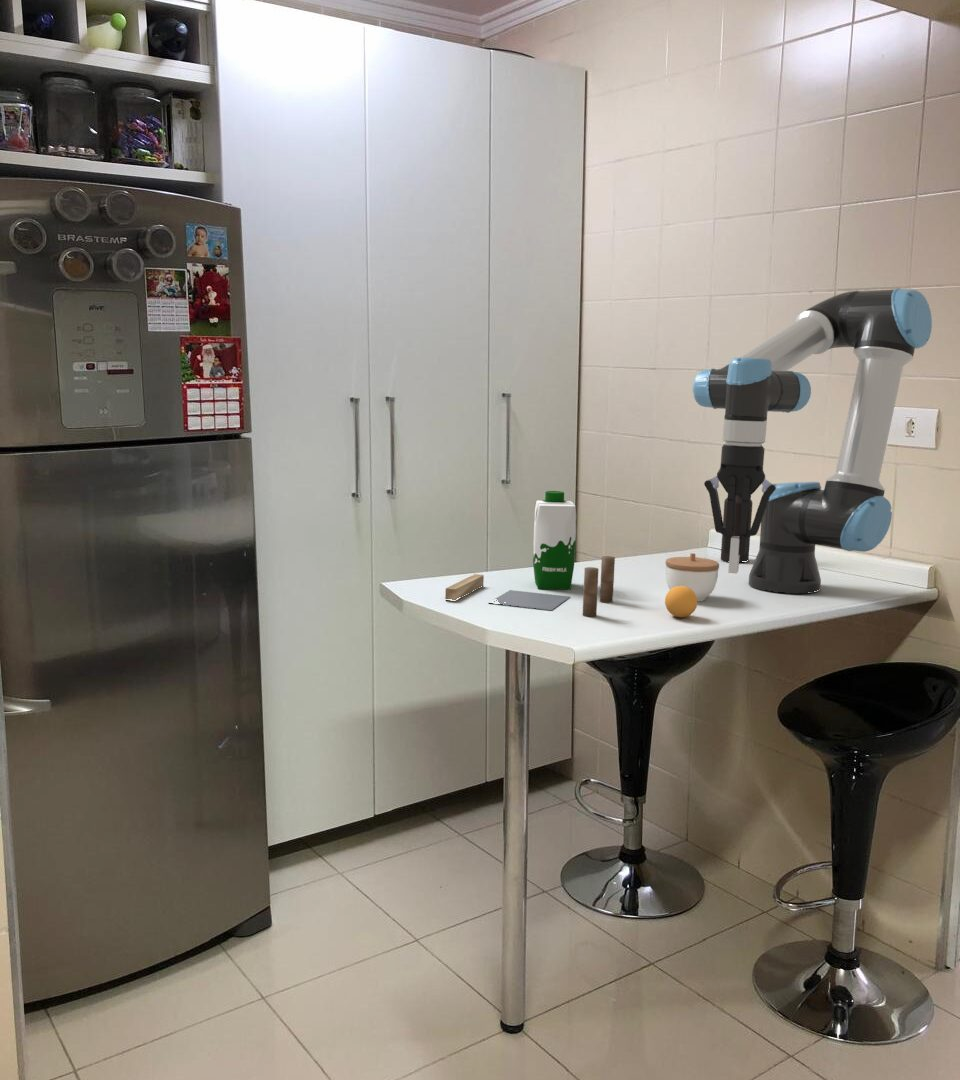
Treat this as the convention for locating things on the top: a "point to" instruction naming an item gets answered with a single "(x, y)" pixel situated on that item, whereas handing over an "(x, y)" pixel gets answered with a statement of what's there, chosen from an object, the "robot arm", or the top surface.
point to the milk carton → (554, 541)
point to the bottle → (736, 528)
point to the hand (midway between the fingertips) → (733, 571)
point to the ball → (681, 601)
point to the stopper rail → (464, 587)
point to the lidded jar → (692, 574)
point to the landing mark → (531, 599)
